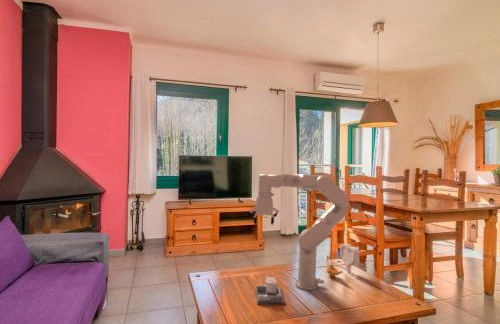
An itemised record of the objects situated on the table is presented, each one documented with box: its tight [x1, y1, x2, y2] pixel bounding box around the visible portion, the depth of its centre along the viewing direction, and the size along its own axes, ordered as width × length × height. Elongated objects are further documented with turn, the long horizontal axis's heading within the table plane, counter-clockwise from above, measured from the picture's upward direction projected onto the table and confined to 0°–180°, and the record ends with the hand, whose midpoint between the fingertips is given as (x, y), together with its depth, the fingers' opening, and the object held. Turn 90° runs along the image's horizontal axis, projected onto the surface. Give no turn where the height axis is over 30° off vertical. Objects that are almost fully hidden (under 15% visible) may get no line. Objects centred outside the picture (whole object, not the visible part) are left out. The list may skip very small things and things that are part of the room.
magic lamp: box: [325, 255, 344, 279], centre depth 175 cm, size 7×18×11 cm, turn 15°
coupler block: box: [264, 276, 278, 295], centre depth 148 cm, size 5×7×8 cm
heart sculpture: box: [339, 243, 360, 277], centre depth 182 cm, size 16×5×18 cm, turn 14°
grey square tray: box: [255, 284, 287, 306], centre depth 148 cm, size 14×14×4 cm
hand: (263, 224), depth 170 cm, fingers open, 9 cm apart
